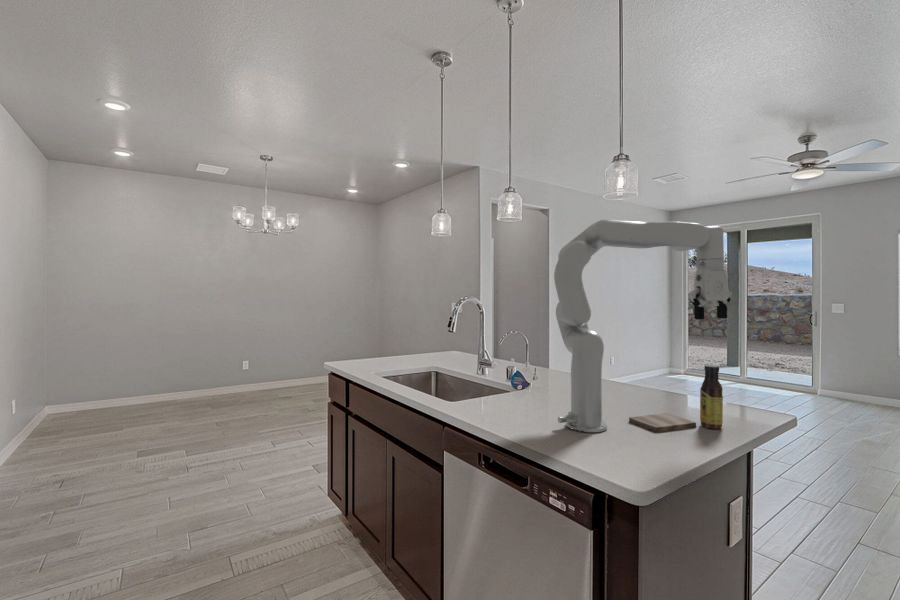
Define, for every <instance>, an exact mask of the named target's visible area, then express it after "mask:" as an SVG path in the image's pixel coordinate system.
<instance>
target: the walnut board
mask: <svg viewBox="0 0 900 600" xmlns="http://www.w3.org/2000/svg"><path fill="white" fill-rule="evenodd" d="M628 421H629V423H631V424H633V423H634V424H633V425H636V426H638V425H639V426H638V427H641V428H643V429H647V430H649V431H652V432H654V433H661V432H670V431H678V430H685V429H691V428H692V429H693V428H697V422H696V421H694V420H689V419H686V418H683V417H681V416H677V415H674V414H671V413H667V412H665V413H657V414H655V413H654V414H648V415H641V416H640V415H638V416H630V417H628Z"/></svg>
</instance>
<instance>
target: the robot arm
mask: <svg viewBox="0 0 900 600" xmlns="http://www.w3.org/2000/svg"><path fill="white" fill-rule="evenodd" d="M724 245H725V244H724V229H723V227H722V226H718V225H716V226H715V225H714V226H713V225H712V226H711V225H709V226H704V225H703V224H701V223H697V222H684V221H637V220H636V221H635V220H634V221H633V220H621V219H601V220H598V221H596V222H594V223H592V224H591V225H588V227H587V228H585V230H583V231H582V232H581V233H579V234H578V235H577V236H575V237H574V238H572V240H570V241H569V242H568V243H566V244H565V245H564V246H563V247H561V249H560V250H559V252H558V256H557V257H558V260H557V262H556V265H555V267H554V268H555V269H554V273H553V276H554V277H553V279H554V286H555V289H556V293H557V297H558V302H557V304H556V307H555V317H556V320H557V324H558V327H559V328H558V329H559V331H560V334H561V338H562V340H563V344H564V346H565V348H566V350H567V351H568V352H570V353H571V354H572V355H571V361H570V362H571V364H570V411H569V412H567V415H565V416H563V415H562V416H558V417H557V421H558V423H559V424H563V423H565V426H566V425H567V426H568V427H570V428H573V429H575V430H574V431H576V430H579V431H578V432H581V431H584V432H583V433H601V432H604V431H607V429H608V425H607V423H606V422H604V421H603V405H602V403H603V394H602V393H603V390H602V389H603V385H602V384H603V383H602V381H603V379H602V377H603V375H602V373H603V372H602V370H603V369H602V368H603V359H604V350H605V349H604V348H605V347H604V346H605V345H604V341H603V339H602V337H601V336H600V334H599V333H597V332H596V331H594V330H592V329H589V326H588V322H589V321H590V319H591V317H592V310H591V306H590V304H589V300H588V297H587V294H586V292H585V287H584V283H583V278H582V277H583V270H584V269H585V267H586V266H587V264H588V263H590V261H591V259H592V256H593V255H595V254H596V253H597V252H599V250H600V249H602V248H604V247H613V248H629V249H638V250H639V249H640V250H641V249H653V248H657V247H670V248H671V249H672V250H674V251H677V252H684V251H693V250H695V251H696V263H695V266H696V270H695V275H694V281H693V283H694V284H693V289H692V290H691V291H689V292H688V294H687V295H688V297H689V299H690V300H689V301H690V303H691V304H692V307H694V308H693V310H694V311H693V312H694V315H693V317H694V320H700V321H701V320H704V319H705V306H704V305H705V303H706V301H708V302H709V301H712V302H713V301H714V302H715V303H716V304H717V306H716V318H717V319H727V318H728V307H729V305H730V301H731V297H732V295H733V292H732V291H730V290H729V280H728V274H727V271H726V269H725V259H724V257H725V256H724V255H725V254H724V253H725V251H724V250H725V249H724ZM567 426H566V427H567ZM568 427H567V428H568ZM570 428H569V429H570Z"/></svg>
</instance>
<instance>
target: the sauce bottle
mask: <svg viewBox="0 0 900 600" xmlns="http://www.w3.org/2000/svg"><path fill="white" fill-rule="evenodd" d="M719 372H720V366H719V365H716V364H705V365H704V380H703V382H702V384H701V387H700V389H699V390H700V392H699V393H700V395H699V397H700V399H699V402H700V403H699V404H700V405H699V408H700V410H699V420H700V425H701V426H702V427H704V429H705V428H706V429H714V430H720V429H722V427H723V422H724V421H723V418H724V416H723V415H724V414H723V413H724V412H723V411H724V410H723V409H724V408H723V407H724V404H723V403H724V401H723V400H724V396H723V385H722V384H721V382H720V381H719V379H720V378H719Z"/></svg>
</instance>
